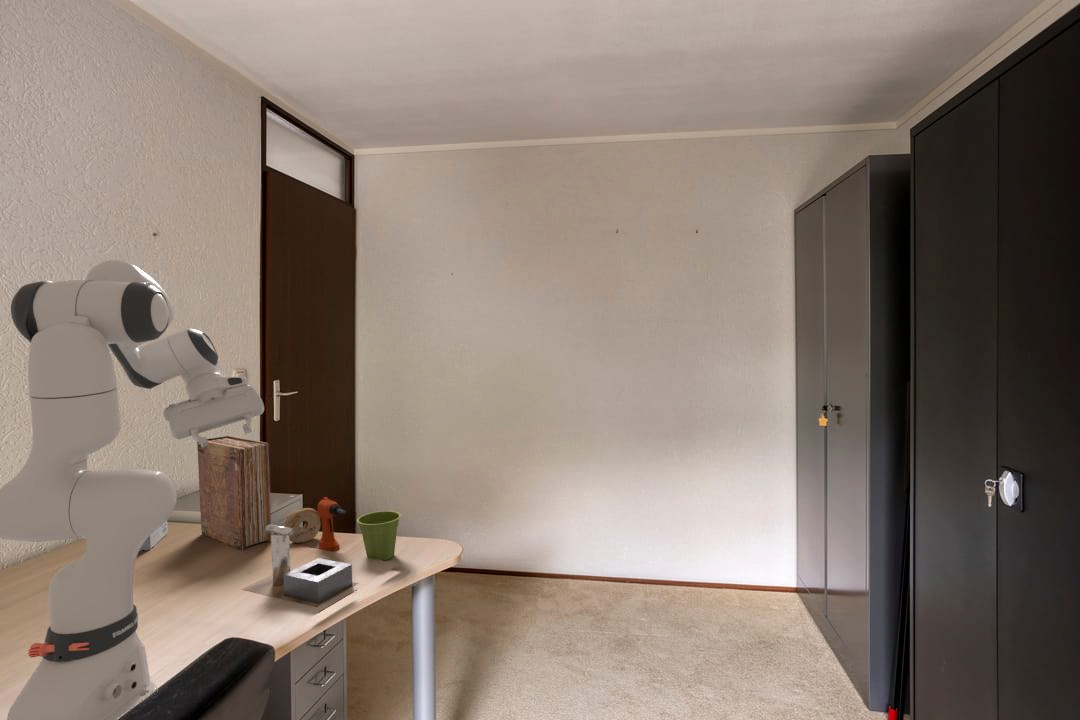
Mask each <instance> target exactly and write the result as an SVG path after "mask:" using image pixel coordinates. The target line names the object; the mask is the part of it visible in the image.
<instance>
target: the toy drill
mask: <svg viewBox="0 0 1080 720" xmlns="http://www.w3.org/2000/svg"><path fill="white" fill-rule="evenodd" d="M316 509H317V510H316V511H317V512H318V515H319V516H320V520H321V526H322V529H321V530H322V531H321V532H322V533H321V538H320V539H319V541H318V547H319V549H320V550H322V551H327V552H334V551H337V550H339V549H340V544H339V542H338V540H336V538H335V530H334V521H333V520H334V518H333V517H335V516H337V515H340V514H343V515H345V514H347V511H346V510H344V509H342V507H341V506H340V505H339V504H338V503H337V502H336V501H334V500H331V499H329V498H328V497H327V496H325V497H323V498H322V499H321V500H320V501H319V502H318V504H317V508H316Z"/></svg>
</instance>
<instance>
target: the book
mask: <svg viewBox="0 0 1080 720" xmlns="http://www.w3.org/2000/svg"><path fill="white" fill-rule="evenodd" d="M206 439H207V441H208V445H209V446H206V447H201V444H200V442H198V441H196V443H197V464H198V465H197V467H198V468H197V469H198V485H199V487H198V488H199V504H200V505H199V507H200V508H199V509H200V526H201V535H203V536H206V537H207V538H210V539H212V540H214V541H217V542H220V543H221V544H224V545H227V546H230V547H232V548H233V549H234V548H235V549H236V550H239V551H243V550H244V548H247V547H250V546H253V545H257V544H260V543H262V542H266V541H268V542H271V534H273V533H270V532H267V531H266V527H267V526H268V525H272V511H271V484H270V483H271V482H270V480H271V479H270V458H269V443H268V442H264V441H259V440H254V439H248V438H241V437H235V436H230V435H228V436H227V435H226V436H219V437H213V438H206Z"/></svg>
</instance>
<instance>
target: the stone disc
mask: <svg viewBox="0 0 1080 720" xmlns="http://www.w3.org/2000/svg"><path fill="white" fill-rule="evenodd" d="M303 522H305V524H304V525H303V526H302V527H301V526H300V525H301V524H302V523H303ZM321 526H322V522H321V517H320V516H319V515H318V511H317V510H316V509H315V508H310V507H304V508H299V509H295V510H292V511H291V512H290V513H289V514H288V516H287V518H286V520H285V521H284V527H288V528H293V530H294V531H293V534H292V535H291V536H289V542H292V543H294V544H296V543H297V544H299V543H300V544H303V543H306V542H310V541H312V540H313V539H314V538H316V537H317V535H318V533H319V532H320V529H321Z"/></svg>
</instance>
